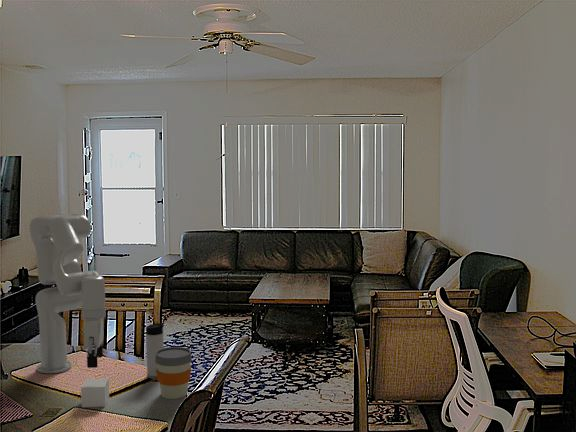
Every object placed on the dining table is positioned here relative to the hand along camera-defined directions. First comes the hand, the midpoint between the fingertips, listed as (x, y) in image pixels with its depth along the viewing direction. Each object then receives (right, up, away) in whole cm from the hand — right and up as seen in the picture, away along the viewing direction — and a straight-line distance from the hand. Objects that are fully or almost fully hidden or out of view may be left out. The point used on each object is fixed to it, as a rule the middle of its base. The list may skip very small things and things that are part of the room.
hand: (95, 362), depth 225 cm
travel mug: (+15, -11, +26) cm, 32 cm away
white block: (0, -14, +1) cm, 14 cm away
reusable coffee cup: (+25, -13, +9) cm, 30 cm away
